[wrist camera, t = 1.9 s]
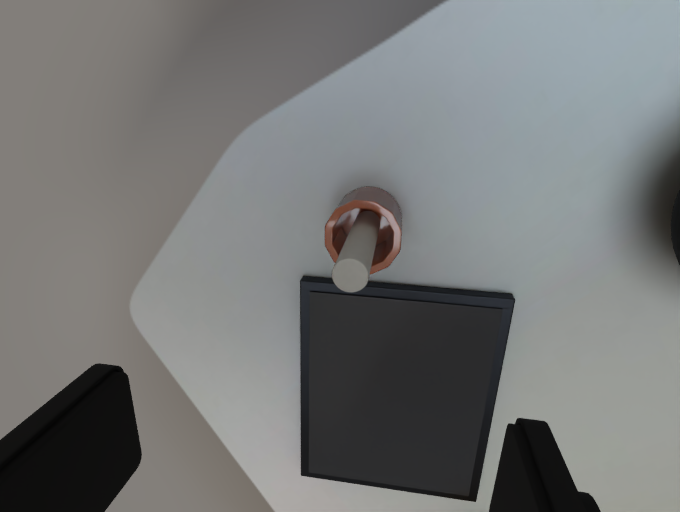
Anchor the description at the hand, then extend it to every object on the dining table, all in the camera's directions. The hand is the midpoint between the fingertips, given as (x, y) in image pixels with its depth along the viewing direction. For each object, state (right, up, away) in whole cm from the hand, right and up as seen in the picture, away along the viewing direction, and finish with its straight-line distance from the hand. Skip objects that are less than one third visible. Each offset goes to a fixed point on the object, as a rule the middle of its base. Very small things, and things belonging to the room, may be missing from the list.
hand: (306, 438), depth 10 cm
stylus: (+3, +7, +20) cm, 21 cm away
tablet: (+5, -7, +25) cm, 27 cm away
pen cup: (+3, +7, +20) cm, 22 cm away
